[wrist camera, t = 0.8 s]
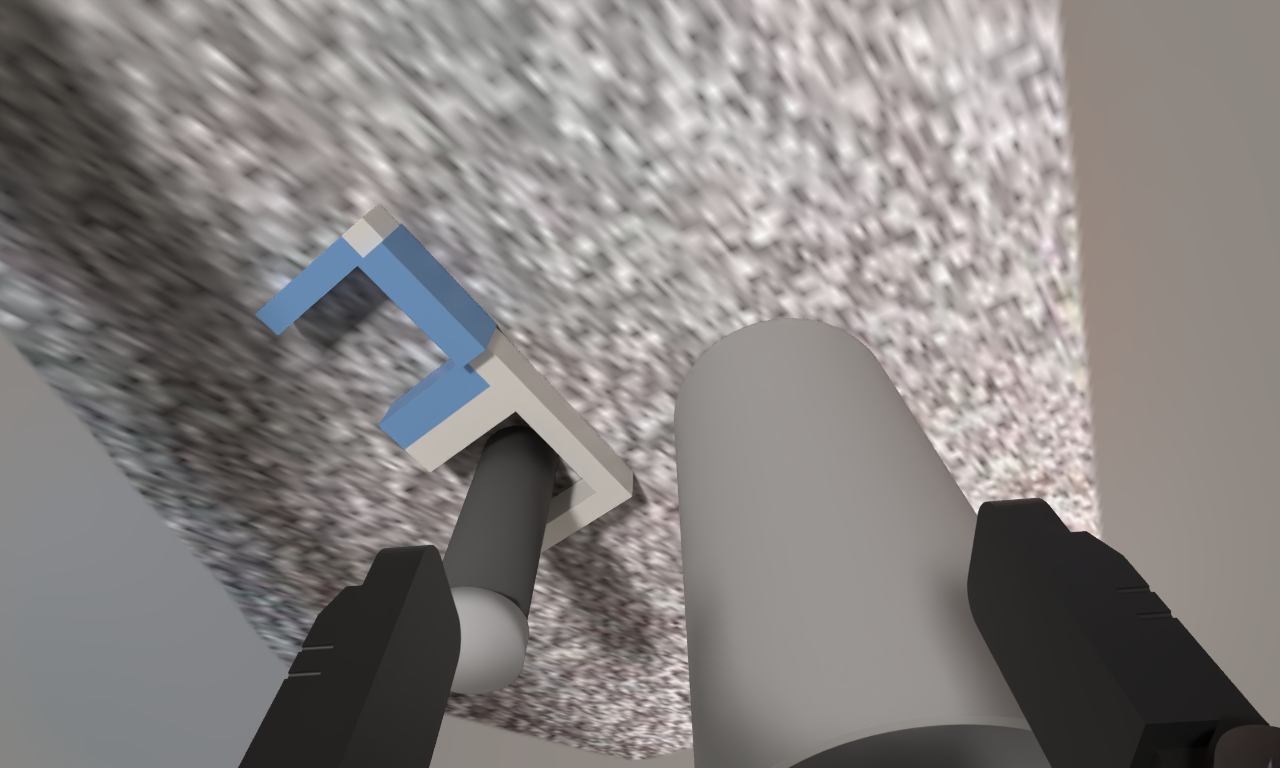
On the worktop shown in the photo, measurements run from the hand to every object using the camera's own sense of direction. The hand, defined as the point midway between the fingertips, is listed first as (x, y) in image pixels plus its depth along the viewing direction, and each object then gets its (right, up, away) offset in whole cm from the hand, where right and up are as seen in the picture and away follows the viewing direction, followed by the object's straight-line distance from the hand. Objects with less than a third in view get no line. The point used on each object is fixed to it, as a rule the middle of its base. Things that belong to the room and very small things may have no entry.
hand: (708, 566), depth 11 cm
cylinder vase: (+7, +1, +32) cm, 32 cm away
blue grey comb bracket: (-11, +2, +31) cm, 33 cm away
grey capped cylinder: (-8, -2, +33) cm, 34 cm away
